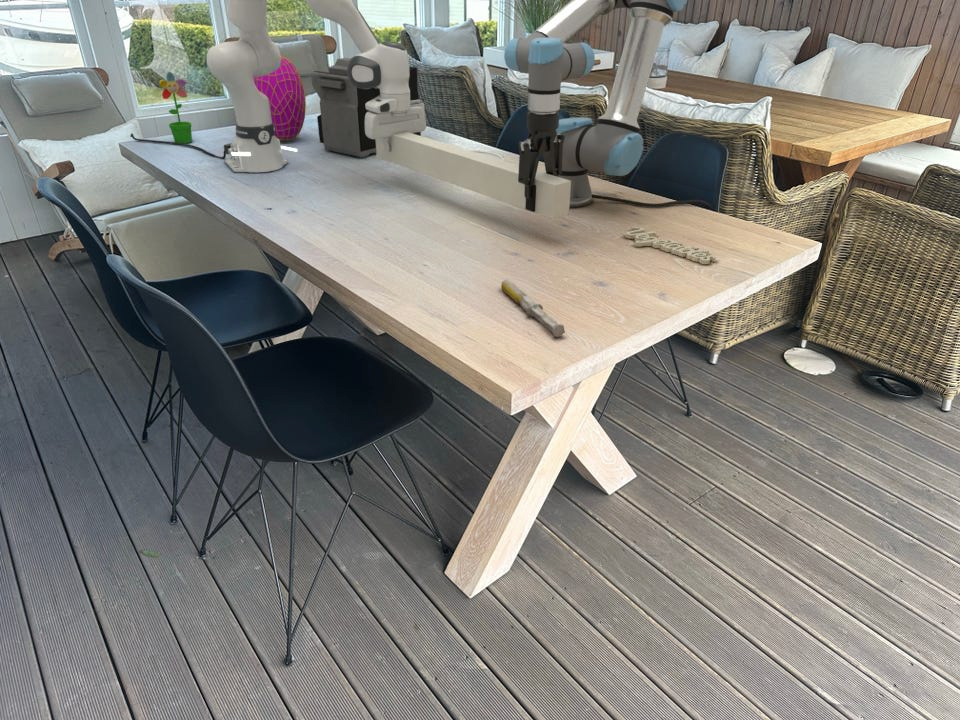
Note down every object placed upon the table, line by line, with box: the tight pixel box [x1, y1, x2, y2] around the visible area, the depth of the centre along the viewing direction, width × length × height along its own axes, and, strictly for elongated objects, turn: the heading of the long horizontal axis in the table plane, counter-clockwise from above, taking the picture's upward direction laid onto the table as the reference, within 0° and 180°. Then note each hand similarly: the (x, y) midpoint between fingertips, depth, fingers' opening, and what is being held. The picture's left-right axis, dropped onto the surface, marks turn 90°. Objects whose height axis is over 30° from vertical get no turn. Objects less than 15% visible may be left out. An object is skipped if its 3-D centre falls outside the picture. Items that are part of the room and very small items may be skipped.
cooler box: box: [310, 57, 422, 159], centre depth 250 cm, size 37×22×30 cm, turn 144°
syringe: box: [500, 279, 566, 338], centre depth 139 cm, size 25×4×3 cm, turn 21°
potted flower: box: [158, 71, 193, 144], centre depth 254 cm, size 9×8×25 cm
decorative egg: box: [253, 55, 307, 142], centre depth 257 cm, size 19×19×30 cm
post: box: [376, 132, 571, 221], centre depth 190 cm, size 76×5×8 cm, turn 41°
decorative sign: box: [624, 226, 717, 265], centre depth 170 cm, size 26×1×10 cm
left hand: (397, 149), depth 210 cm, fingers closed on post, 5 cm apart
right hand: (539, 207), depth 172 cm, fingers closed on post, 5 cm apart
